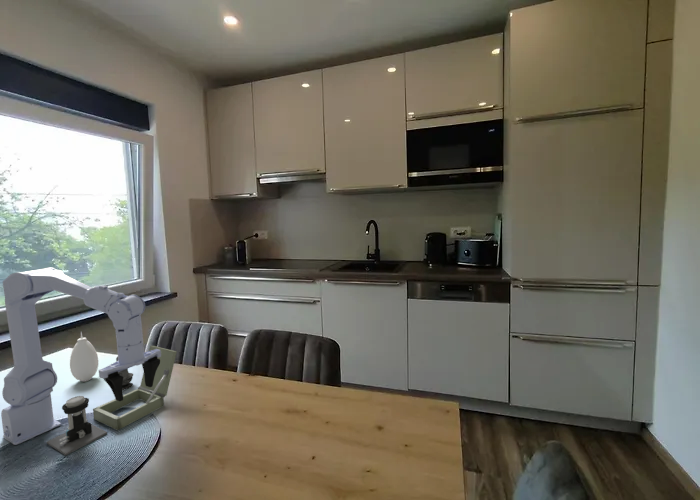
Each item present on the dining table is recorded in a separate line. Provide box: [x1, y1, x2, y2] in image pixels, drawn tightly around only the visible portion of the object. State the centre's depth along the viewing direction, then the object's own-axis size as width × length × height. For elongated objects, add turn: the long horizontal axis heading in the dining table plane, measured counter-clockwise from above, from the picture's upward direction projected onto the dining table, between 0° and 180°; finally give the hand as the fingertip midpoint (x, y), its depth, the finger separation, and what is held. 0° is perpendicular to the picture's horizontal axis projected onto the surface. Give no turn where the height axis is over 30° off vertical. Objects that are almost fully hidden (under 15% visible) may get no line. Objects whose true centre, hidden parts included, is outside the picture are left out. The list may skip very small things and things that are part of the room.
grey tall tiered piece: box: [115, 356, 134, 392], centre depth 112 cm, size 6×6×12 cm
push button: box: [60, 395, 92, 444], centre depth 85 cm, size 7×5×10 cm
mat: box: [45, 423, 108, 456], centre depth 86 cm, size 9×10×1 cm
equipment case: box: [92, 345, 177, 431], centre depth 99 cm, size 18×12×15 cm, turn 152°
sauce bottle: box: [69, 331, 99, 383], centre depth 118 cm, size 8×8×18 cm
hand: (134, 392), depth 88 cm, fingers open, 7 cm apart
